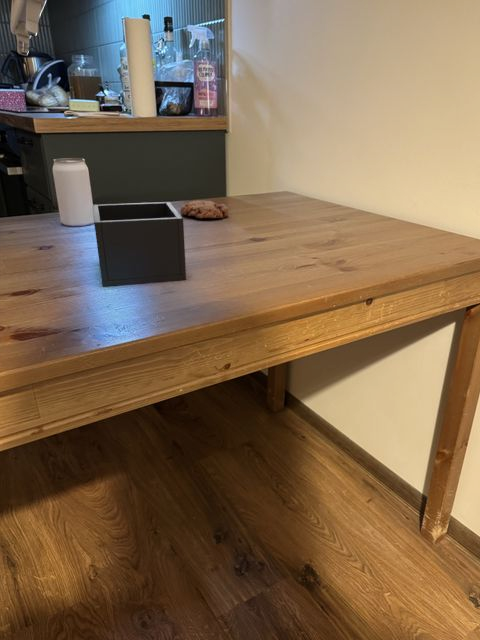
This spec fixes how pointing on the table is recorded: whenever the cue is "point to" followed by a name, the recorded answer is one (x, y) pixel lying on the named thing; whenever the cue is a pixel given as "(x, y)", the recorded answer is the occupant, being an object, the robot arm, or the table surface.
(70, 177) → the can
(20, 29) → the robot arm
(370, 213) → the table surface
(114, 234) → the dark grey open box
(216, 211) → the cookie
